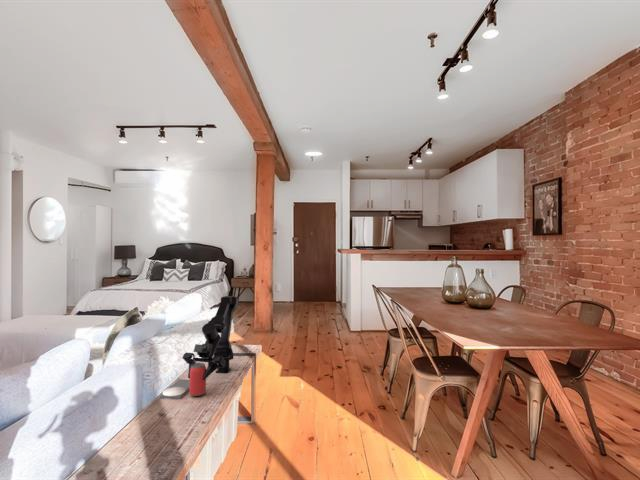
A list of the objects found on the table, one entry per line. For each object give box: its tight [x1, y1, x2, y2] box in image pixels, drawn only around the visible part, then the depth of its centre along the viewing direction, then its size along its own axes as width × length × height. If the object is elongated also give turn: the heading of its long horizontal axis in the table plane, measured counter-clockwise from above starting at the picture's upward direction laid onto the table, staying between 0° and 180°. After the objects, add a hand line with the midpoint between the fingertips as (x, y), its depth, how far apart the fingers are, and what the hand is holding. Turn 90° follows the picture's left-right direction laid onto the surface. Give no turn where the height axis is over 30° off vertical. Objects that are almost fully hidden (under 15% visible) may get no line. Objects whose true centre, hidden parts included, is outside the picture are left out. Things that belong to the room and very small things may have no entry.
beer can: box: [188, 362, 207, 397], centre depth 145 cm, size 7×7×12 cm
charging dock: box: [159, 378, 190, 400], centre depth 150 cm, size 18×9×2 cm, turn 179°
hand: (196, 378), depth 144 cm, fingers closed on beer can, 7 cm apart
